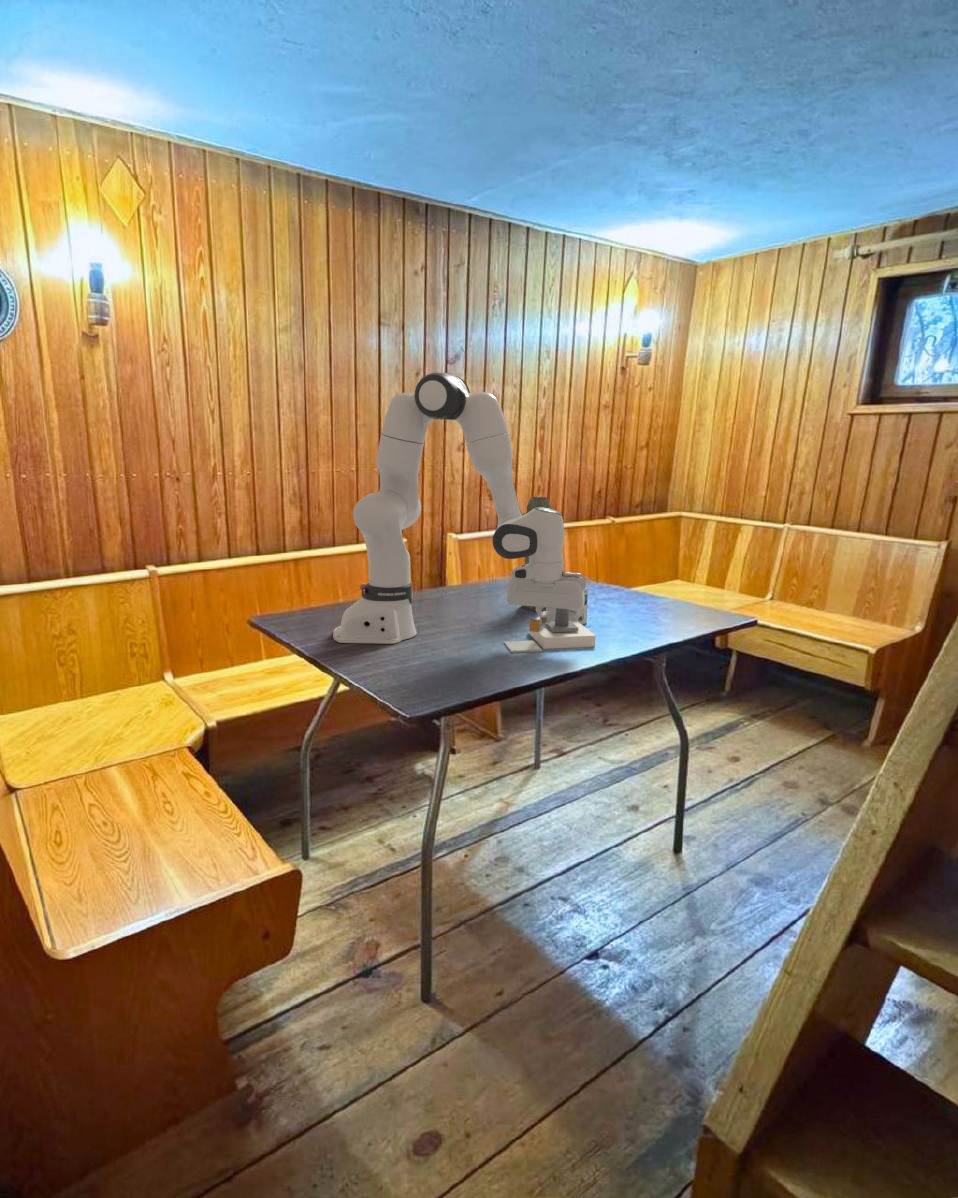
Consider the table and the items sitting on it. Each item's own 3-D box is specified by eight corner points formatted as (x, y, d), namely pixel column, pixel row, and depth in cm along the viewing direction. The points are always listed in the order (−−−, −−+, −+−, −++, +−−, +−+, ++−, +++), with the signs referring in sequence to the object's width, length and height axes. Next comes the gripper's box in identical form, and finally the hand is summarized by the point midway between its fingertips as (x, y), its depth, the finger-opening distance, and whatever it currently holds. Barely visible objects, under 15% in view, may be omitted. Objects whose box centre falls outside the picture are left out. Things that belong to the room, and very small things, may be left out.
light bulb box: (587, 623, 202) (589, 587, 199) (577, 628, 196) (579, 591, 194) (555, 617, 207) (556, 582, 205) (544, 622, 202) (545, 586, 199)
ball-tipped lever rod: (541, 621, 190) (542, 606, 189) (550, 622, 189) (551, 606, 188) (529, 636, 176) (529, 620, 175) (538, 637, 175) (538, 620, 174)
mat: (511, 652, 173) (511, 651, 172) (504, 643, 180) (504, 641, 180) (542, 651, 174) (542, 649, 174) (533, 642, 182) (533, 640, 182)
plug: (552, 644, 180) (553, 611, 178) (544, 636, 187) (546, 605, 185) (577, 643, 182) (579, 610, 179) (569, 635, 188) (570, 604, 186)
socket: (543, 648, 176) (544, 637, 176) (529, 633, 190) (529, 623, 189) (594, 646, 179) (595, 635, 178) (577, 631, 192) (577, 621, 192)
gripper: (588, 571, 175) (586, 623, 178) (511, 566, 181) (511, 617, 185) (584, 575, 169) (582, 629, 172) (504, 571, 175) (504, 623, 179)
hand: (544, 623), depth 179 cm, fingers closed
